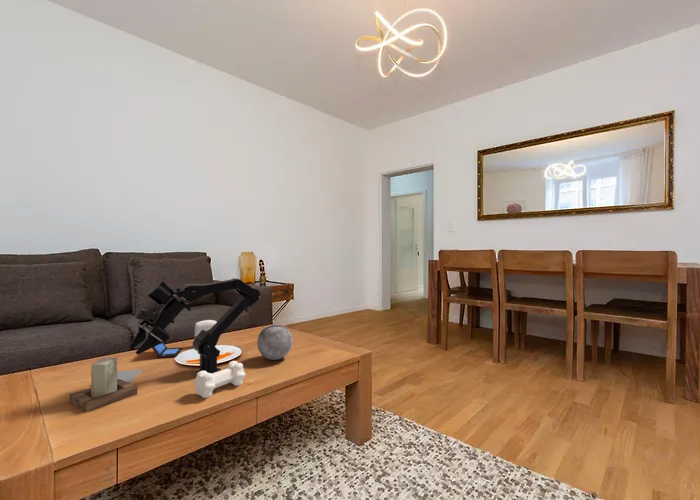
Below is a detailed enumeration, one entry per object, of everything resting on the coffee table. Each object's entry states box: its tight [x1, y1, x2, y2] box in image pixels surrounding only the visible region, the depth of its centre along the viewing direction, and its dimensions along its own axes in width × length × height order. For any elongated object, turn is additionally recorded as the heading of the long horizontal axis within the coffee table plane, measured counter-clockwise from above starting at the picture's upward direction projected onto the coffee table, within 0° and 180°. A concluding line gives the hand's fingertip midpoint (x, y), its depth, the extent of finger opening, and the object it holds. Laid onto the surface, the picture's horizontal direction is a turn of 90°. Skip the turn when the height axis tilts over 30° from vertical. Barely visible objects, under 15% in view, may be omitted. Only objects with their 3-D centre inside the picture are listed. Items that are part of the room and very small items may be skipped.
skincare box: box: [90, 357, 118, 398], centre depth 108 cm, size 6×4×12 cm
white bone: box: [193, 360, 246, 399], centre depth 115 cm, size 15×9×8 cm, turn 143°
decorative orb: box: [256, 323, 294, 361], centre depth 145 cm, size 15×14×15 cm
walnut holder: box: [69, 379, 138, 413], centre depth 108 cm, size 12×14×2 cm
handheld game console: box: [151, 341, 183, 360], centre depth 151 cm, size 12×11×7 cm
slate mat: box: [117, 368, 143, 384], centre depth 124 cm, size 12×12×1 cm
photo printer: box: [194, 319, 218, 346], centre depth 164 cm, size 10×4×12 cm, turn 123°
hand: (133, 350), depth 113 cm, fingers open, 9 cm apart
